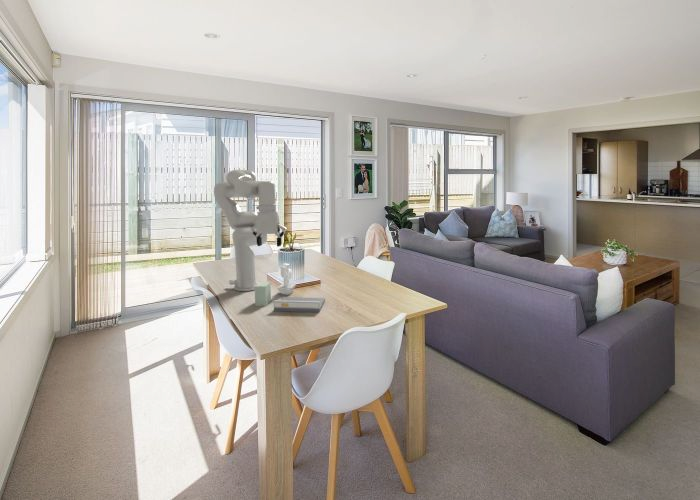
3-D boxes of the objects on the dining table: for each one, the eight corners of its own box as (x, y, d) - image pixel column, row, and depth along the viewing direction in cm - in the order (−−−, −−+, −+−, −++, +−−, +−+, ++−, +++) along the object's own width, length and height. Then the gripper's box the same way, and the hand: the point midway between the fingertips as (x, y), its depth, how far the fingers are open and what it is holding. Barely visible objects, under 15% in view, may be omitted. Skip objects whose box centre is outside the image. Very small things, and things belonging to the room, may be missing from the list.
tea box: (266, 305, 188) (265, 286, 186) (254, 305, 188) (254, 286, 186) (270, 300, 195) (270, 282, 194) (260, 300, 196) (259, 281, 194)
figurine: (296, 291, 211) (296, 262, 209) (290, 296, 202) (289, 266, 200) (283, 290, 213) (282, 261, 211) (276, 295, 204) (275, 265, 201)
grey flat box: (273, 311, 180) (273, 301, 179) (282, 300, 196) (282, 290, 195) (319, 312, 178) (319, 302, 177) (324, 301, 194) (324, 291, 193)
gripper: (246, 209, 188) (248, 246, 190) (281, 209, 183) (283, 247, 186) (254, 208, 195) (255, 244, 198) (288, 208, 191) (289, 245, 193)
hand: (269, 246), depth 192 cm, fingers open, 9 cm apart
